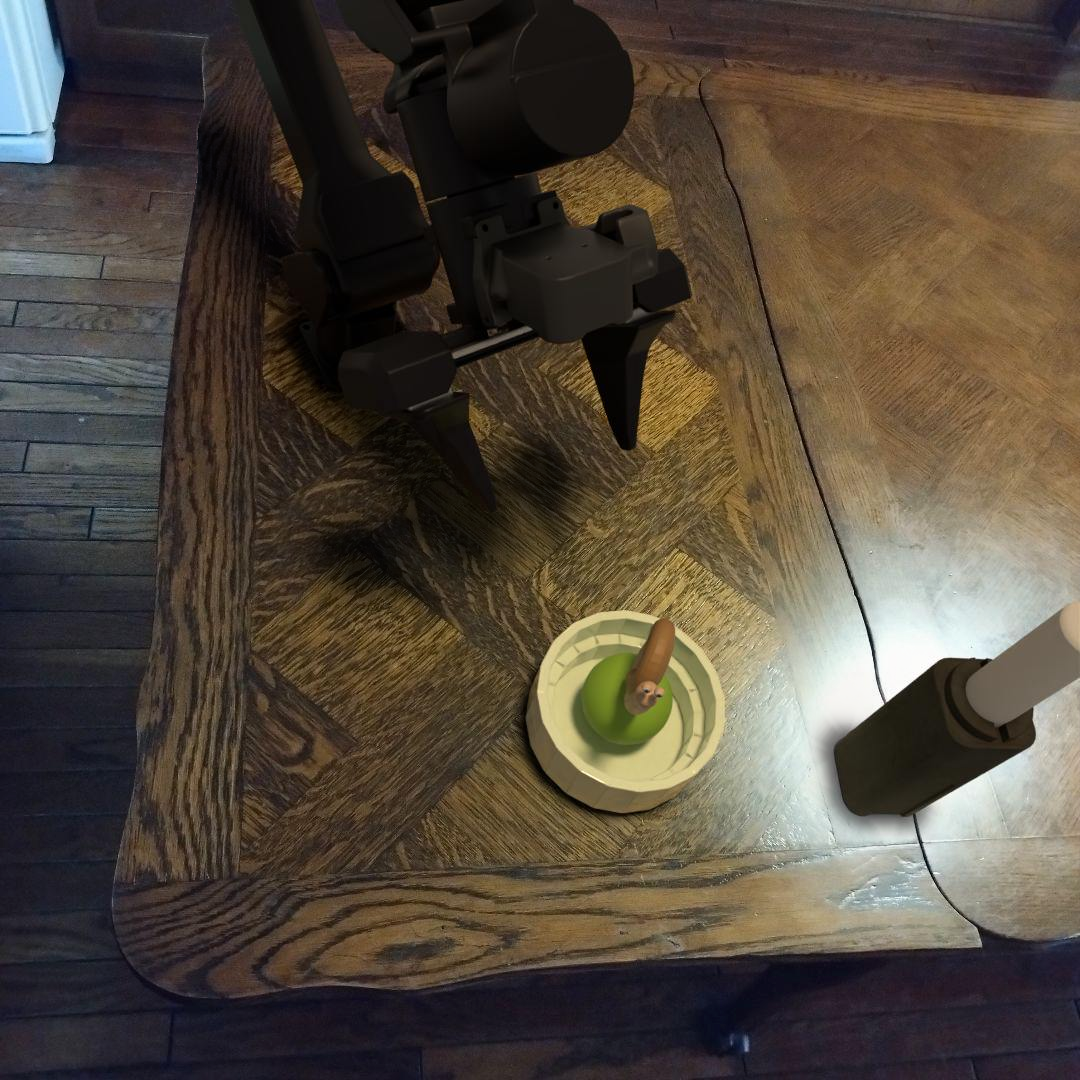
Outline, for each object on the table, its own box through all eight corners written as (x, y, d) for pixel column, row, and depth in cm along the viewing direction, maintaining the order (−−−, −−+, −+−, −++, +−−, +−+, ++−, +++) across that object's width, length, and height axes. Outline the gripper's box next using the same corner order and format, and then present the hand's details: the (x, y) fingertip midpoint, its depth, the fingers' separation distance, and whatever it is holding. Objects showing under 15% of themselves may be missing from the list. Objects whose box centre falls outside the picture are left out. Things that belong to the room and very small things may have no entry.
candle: (903, 739, 65) (1174, 545, 44) (921, 817, 62) (1219, 651, 41) (830, 737, 64) (1070, 538, 43) (846, 816, 61) (1109, 645, 40)
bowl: (732, 768, 62) (761, 741, 57) (579, 848, 57) (598, 825, 53) (642, 620, 66) (662, 585, 62) (493, 684, 62) (504, 651, 58)
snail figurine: (558, 753, 59) (602, 674, 49) (587, 662, 63) (633, 570, 53) (643, 785, 59) (704, 711, 49) (667, 692, 63) (729, 605, 53)
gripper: (369, 222, 38) (484, 580, 43) (730, 115, 46) (790, 431, 51) (288, 245, 48) (390, 537, 53) (597, 153, 55) (660, 417, 60)
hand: (562, 479), depth 54 cm, fingers open, 9 cm apart
